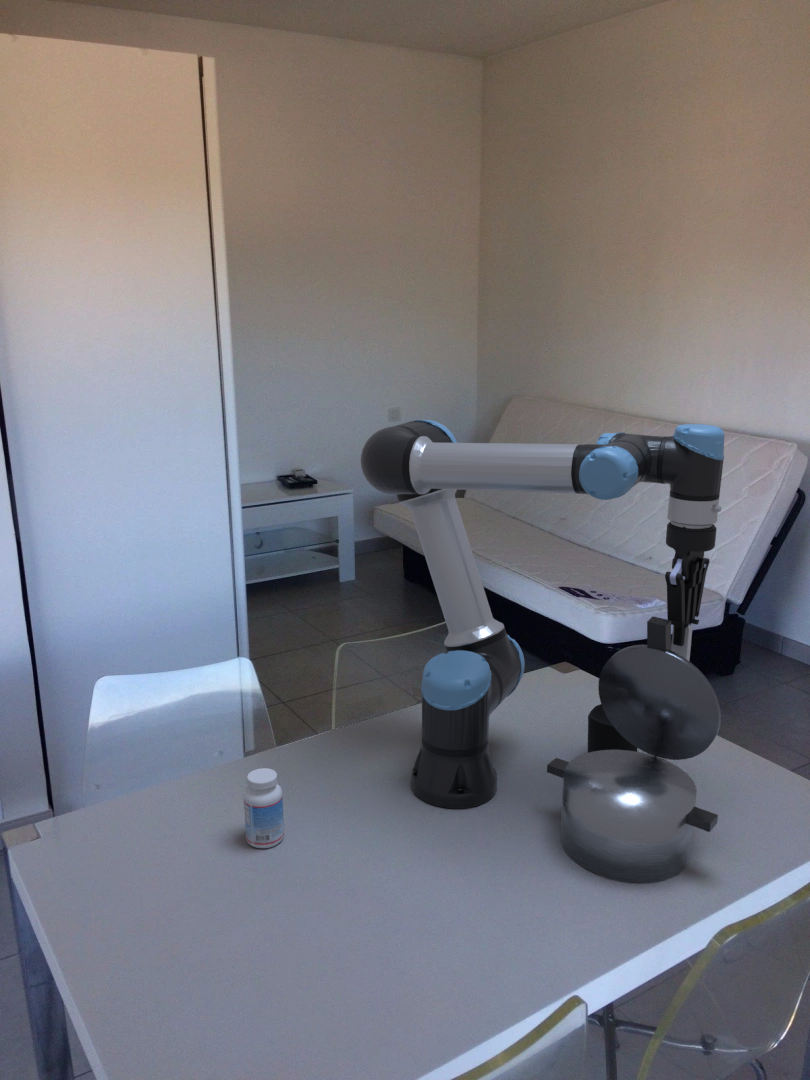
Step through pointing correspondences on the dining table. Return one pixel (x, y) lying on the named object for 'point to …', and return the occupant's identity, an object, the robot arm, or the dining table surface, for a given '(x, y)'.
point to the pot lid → (659, 697)
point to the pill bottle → (263, 809)
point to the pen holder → (604, 733)
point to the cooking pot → (628, 815)
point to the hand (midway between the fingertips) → (679, 661)
